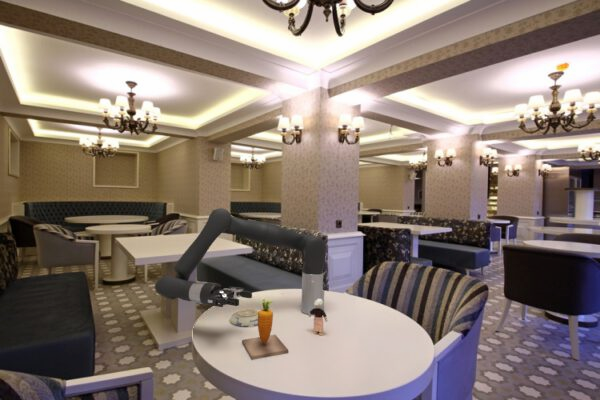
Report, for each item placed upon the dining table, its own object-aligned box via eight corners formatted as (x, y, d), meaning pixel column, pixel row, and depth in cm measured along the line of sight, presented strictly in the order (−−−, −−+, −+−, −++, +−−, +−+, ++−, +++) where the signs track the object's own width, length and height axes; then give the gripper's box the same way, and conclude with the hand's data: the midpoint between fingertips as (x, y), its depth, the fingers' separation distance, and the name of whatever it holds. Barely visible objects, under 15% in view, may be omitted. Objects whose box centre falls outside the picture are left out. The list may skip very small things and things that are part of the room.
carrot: (257, 341, 105) (259, 296, 105) (271, 341, 105) (273, 296, 105) (256, 348, 100) (258, 301, 100) (271, 348, 100) (273, 301, 100)
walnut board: (275, 337, 110) (275, 334, 110) (288, 352, 100) (288, 349, 100) (242, 342, 105) (242, 339, 105) (251, 359, 95) (251, 356, 95)
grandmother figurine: (329, 332, 116) (330, 298, 116) (326, 336, 112) (327, 301, 112) (309, 329, 118) (310, 296, 118) (306, 333, 115) (307, 298, 115)
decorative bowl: (261, 330, 117) (269, 315, 132) (261, 320, 117) (269, 306, 132) (222, 327, 119) (235, 313, 134) (223, 317, 119) (235, 304, 134)
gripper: (192, 287, 104) (234, 293, 99) (217, 277, 118) (255, 282, 112) (192, 310, 104) (233, 317, 99) (217, 297, 118) (255, 303, 112)
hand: (245, 298), depth 105 cm, fingers open, 8 cm apart
